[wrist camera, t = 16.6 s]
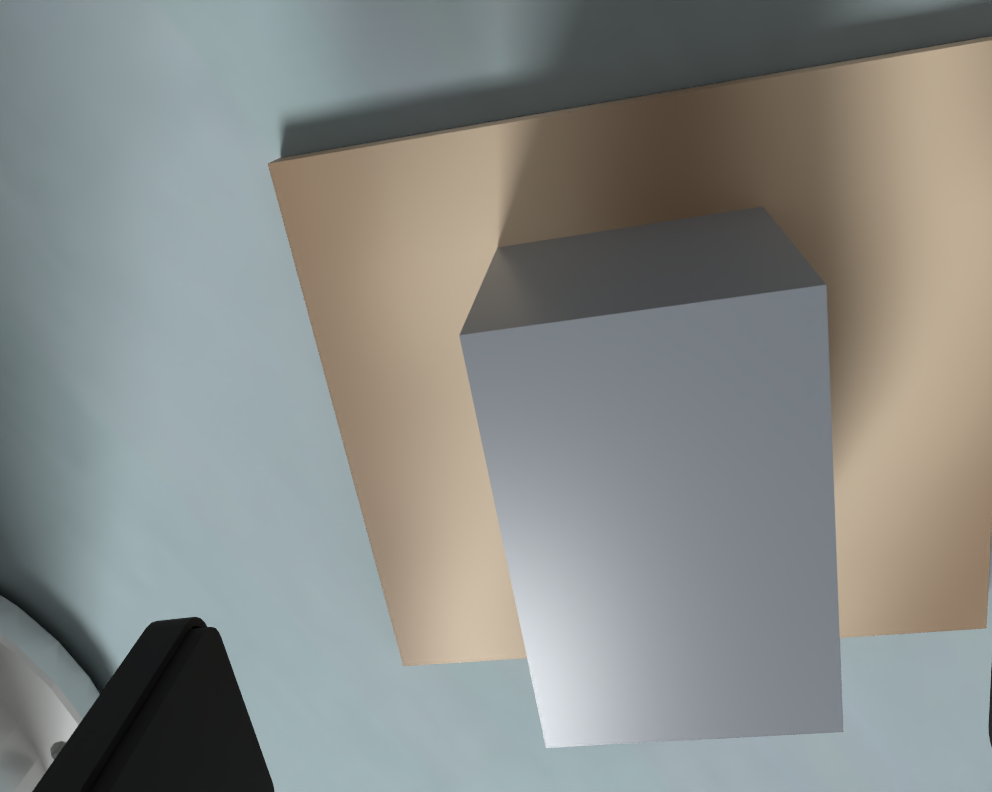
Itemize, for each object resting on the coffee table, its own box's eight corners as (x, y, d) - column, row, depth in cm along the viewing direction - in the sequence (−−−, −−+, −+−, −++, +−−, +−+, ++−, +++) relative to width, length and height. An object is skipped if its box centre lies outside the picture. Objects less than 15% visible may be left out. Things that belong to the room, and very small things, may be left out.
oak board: (408, 648, 20) (403, 666, 19) (279, 158, 16) (268, 164, 15) (974, 609, 18) (986, 627, 17) (1001, 34, 14) (1018, 35, 13)
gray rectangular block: (497, 247, 15) (459, 334, 11) (762, 206, 14) (826, 284, 10) (558, 578, 18) (545, 747, 14) (785, 559, 17) (843, 731, 13)
